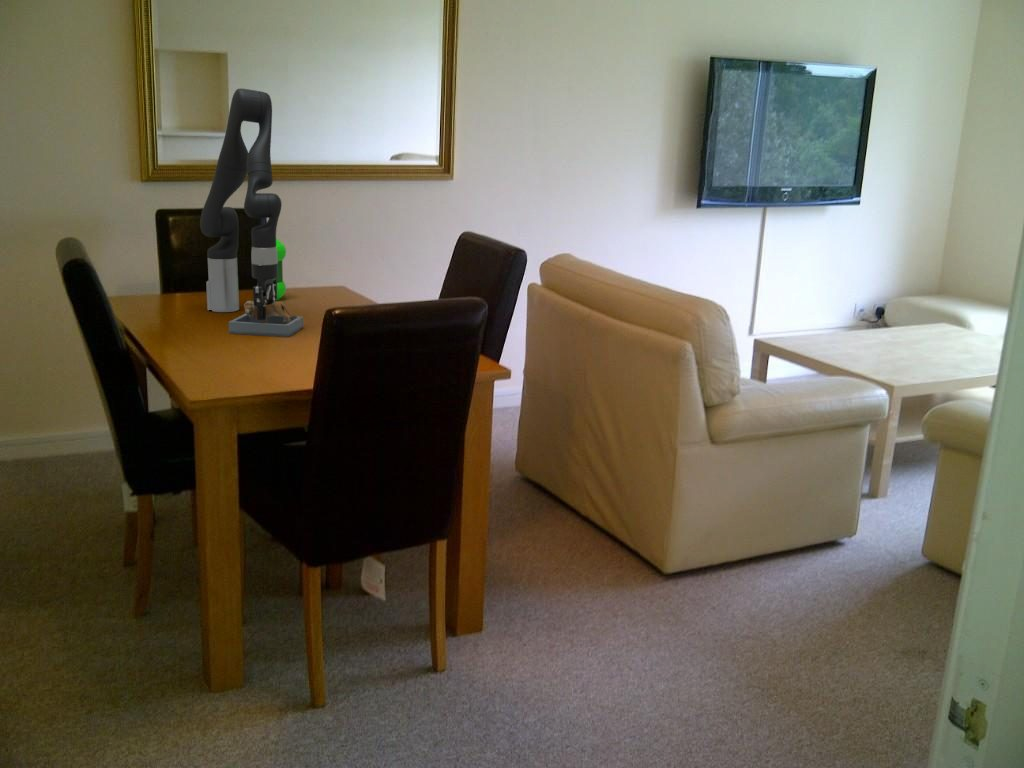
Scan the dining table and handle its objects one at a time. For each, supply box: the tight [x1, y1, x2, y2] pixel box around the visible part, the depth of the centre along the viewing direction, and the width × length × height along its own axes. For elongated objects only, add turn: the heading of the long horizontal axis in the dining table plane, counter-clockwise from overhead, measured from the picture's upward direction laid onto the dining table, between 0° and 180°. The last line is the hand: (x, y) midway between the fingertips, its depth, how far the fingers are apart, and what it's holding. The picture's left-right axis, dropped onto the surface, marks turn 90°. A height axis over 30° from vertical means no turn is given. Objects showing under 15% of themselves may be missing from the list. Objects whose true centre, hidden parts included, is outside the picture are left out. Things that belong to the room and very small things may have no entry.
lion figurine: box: [243, 300, 297, 323], centre depth 309 cm, size 15×5×9 cm, turn 86°
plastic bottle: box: [271, 237, 287, 301], centre depth 356 cm, size 10×10×25 cm
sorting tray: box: [228, 312, 304, 338], centre depth 311 cm, size 18×13×4 cm
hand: (266, 317), depth 310 cm, fingers open, 6 cm apart
